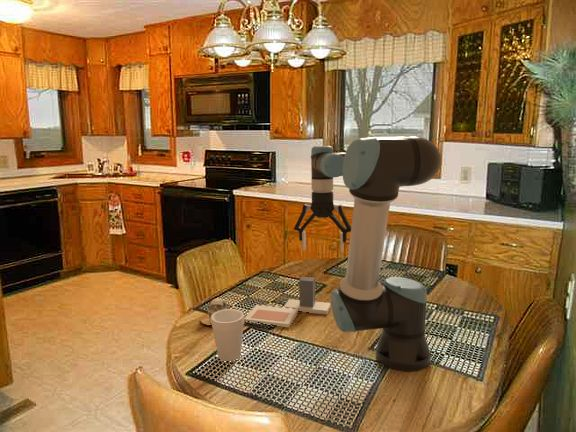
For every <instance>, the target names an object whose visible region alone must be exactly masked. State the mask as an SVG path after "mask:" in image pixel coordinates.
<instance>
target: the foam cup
mask: <svg viewBox="0 0 576 432" xmlns="http://www.w3.org/2000/svg"><path fill="white" fill-rule="evenodd" d="M244 319H245V315H244V312H242V311H241V310H240V309H239V310H238V309H234V308H228V309H225V310H220V311H217V312H215V313H213V314H212V316H211V323H212V326H211V327H212V332H213V336H214V342H215V346H216V351H217V357H218V360H219V359H220V360H222V361H234V360H236V359H238V358H239V357H240V358H241V354H242V353H241V352H242V343H243V333H244V324H245V323H244ZM240 358H239V359H240ZM239 359H238V360H239ZM220 360H219V361H220Z"/></svg>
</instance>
